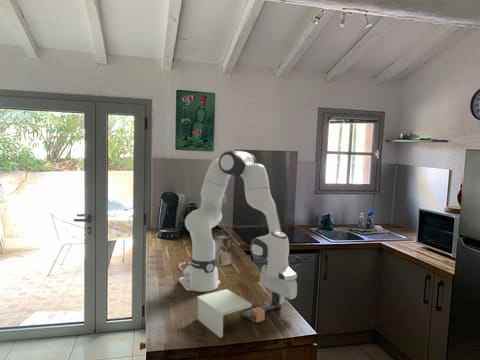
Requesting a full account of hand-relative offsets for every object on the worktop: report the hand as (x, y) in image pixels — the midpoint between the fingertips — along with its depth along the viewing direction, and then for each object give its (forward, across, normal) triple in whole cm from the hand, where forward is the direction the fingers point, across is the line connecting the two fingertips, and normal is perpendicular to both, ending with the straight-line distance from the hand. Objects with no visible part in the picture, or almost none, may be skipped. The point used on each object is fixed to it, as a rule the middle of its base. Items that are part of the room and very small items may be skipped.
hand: (276, 301), depth 154 cm
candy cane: (+3, -67, -10) cm, 68 cm away
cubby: (+3, -1, -26) cm, 27 cm away
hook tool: (+2, +2, -8) cm, 8 cm away
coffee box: (+3, -62, +11) cm, 63 cm away
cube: (+3, +4, -13) cm, 14 cm away
